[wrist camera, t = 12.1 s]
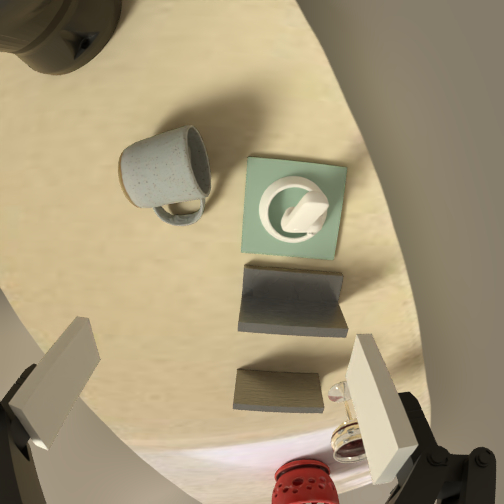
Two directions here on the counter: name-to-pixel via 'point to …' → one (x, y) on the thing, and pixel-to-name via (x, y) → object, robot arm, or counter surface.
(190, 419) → the counter surface
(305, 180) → the white curved piece
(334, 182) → the mat
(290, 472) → the plant pot
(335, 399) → the wineglass
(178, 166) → the ceramic mug
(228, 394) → the counter surface
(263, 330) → the dark grey bookends
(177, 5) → the counter surface
